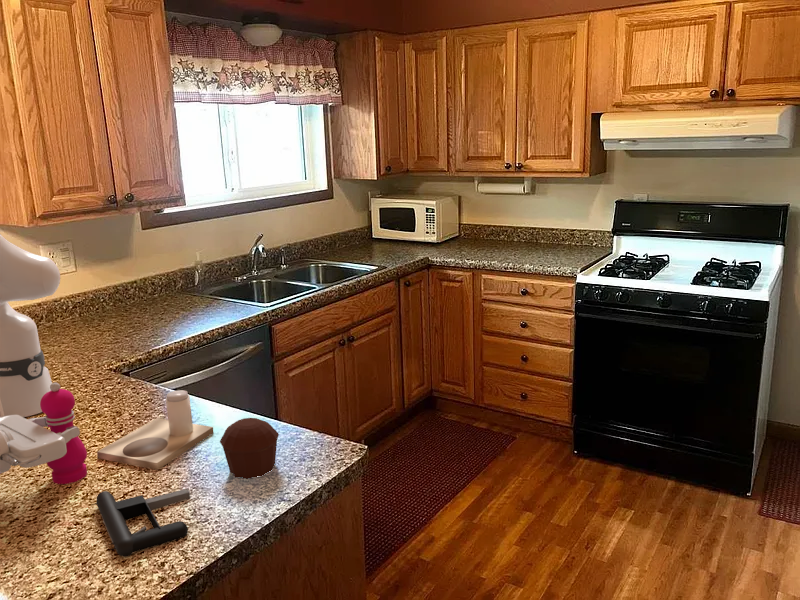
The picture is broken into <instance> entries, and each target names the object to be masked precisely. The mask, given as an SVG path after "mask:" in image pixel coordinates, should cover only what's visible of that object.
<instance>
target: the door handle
mask: <svg viewBox="0 0 800 600" xmlns="http://www.w3.org/2000/svg"><path fill="white" fill-rule="evenodd" d="M188 499H191V493H190V490H189V489H188V488H184V489H180V490H176V491H172V492H168V493H164V494H161V495H156V496H152V497H148V498H145V497H144V496H143V495H142V494H141V495H138V496H137V495H136V496H133V497H130V498H125V499H123V500H117V501H116V499H115V497H114V495H113V494H111V492H110V491H107V490H104V491H101V492H99V493H98V494H97V495H96V502H95V503H91V506H94V505H96V507H97V509H98V510H99V511H98V512H99V514H100V515H101V518H102V523H103V524H104V527H105V529H106V531H107V533H108V536H109V538H110V540H111V543H109V544H108V546H109V545H113V547H114V548H110V549H109V550H108V552H109V551H114V550H115V551H116V553H117V554H118V555H119V556H120V557H123V558H126V557H130V556H131V555H133V554H134V553H137V552H139V551H144V550H146V549H150V548H153V547H154V548H155V547H156V546H160V545H164V544H167V543H170V542H174V541H177V540H180V539H183V538H185V537H186V536H187V535H188V533H189V528H188V525H187V523H185V522H184V521H181V520H180V521H175V522H170V523H168V524H165V525H161V526H160V524H159V522H158V520H157V518H156V517H155V515H154V514H153V512H152V511H155V510H157V509H161V508H163V507H164V508H165V507H167V506H170V505H173V504H177V503H180V502H183V501H186V500H188ZM144 515H146V516H147V519H148V521H149V522H150V524H151V526H152V528H150V529H148V530H147V526H146V525H145V526H143V527H142V528H140V529H139V530H138V531H136V532H133V533H131V530H130V528H129V526H128V524H127V522H126V521H128V520H129V521H130V520H131V519H135V518H138V517H140V516H141V517H142V516H144Z"/></svg>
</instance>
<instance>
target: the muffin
mask: <svg viewBox="0 0 800 600" xmlns="http://www.w3.org/2000/svg"><path fill="white" fill-rule="evenodd" d="M279 436H280V435H279V432H278V431H277V430H276V429H275V428H274V427H273V426H272V425H271V424H270V423H269V422H267V421H265V420H263V419H259V418H257V417H244V418H240V419H238V420H236V421H234V422H233V423H231V424H230V425H229V426H227V428H226V429H225V431H224V433H223V435H222V436H221V438H220V440H219V443H220V445H221V446H222V449H223V452H224V456H225V459H226V463H227V467H228V470H229V472H230V473H231V474H232V473H233V474H232V475H233V477H234V478H238V477H243V478H242V479H244V478H246V479H245V480H249V479H248V478H250V479H253V478H252V477H256V478H258V477H257V476H262V475H264V474H265V473H267V472H269V471H271V470H272V469H274V467H275V465H276V460H277V459H276V458H277V456H276V455H277V444H278V443H277V442H278V438H279ZM274 464H275V465H274ZM273 466H274V467H273ZM272 471H273V470H272ZM272 471H271V472H272ZM269 473H270V472H269ZM267 474H268V473H267ZM265 475H266V474H265ZM265 475H264V476H265ZM262 477H263V476H262Z"/></svg>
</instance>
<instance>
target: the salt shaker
mask: <svg viewBox="0 0 800 600" xmlns="http://www.w3.org/2000/svg"><path fill="white" fill-rule="evenodd" d="M165 406H166V415H167V420H168V422H169V430H170V435H171V436H175V437H180V436H185V435H188V434H190V433H192V432H193V424H194V423H193V416H192V407H191V399H190V395H189V394H188V391H187V390H183V389H181V390H178V389H177V390H174V391H173V390H172V391H170V392H168V393H167V394H166V398H165Z"/></svg>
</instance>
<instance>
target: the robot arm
mask: <svg viewBox="0 0 800 600" xmlns="http://www.w3.org/2000/svg"><path fill="white" fill-rule="evenodd" d="M60 283H61V272H60V269H59V267H58V265H57V264H56V263H55V261H53V260H52V258H50V257H47V256H43V255H41V254H40V255H39V254H36V253H33V252H31V251H28V250H26V249H24V248H21V247H19V246H18V245H16V244H14V243H12V242H10V241H9V240H7V239H6V238H5V237H4V236H3V235H2V234H1V233H0V474H1V475H2V474H3V473H6V472H8V471H10V469H11V466H13V467H16V466H19V467H21V468H26V469H29V468H34V467H37V466H40V465H44V464H47V462H50V461H53V460H56V459H59V458H61V457H63V456H64V455H65V454H66V453H67V449H66V443H67V442H68V441H70V440H71V439H72V438H74V437H77V436H78V437H80V435H81V431H80V428H79V427H78V426H76V425H73V426H71V427H68V428H66V431H64V432H62V433H60V432H59V433H54V432H52V431H50V429H47V428H50V426H49V425H48V424H47V423H46V421H47V420H46V418H45V417H46V416H47V415H46V416H41V417H31V418H28V419H27V418H25V417H30V416H33V415H37V414H41V413H43V412H42V410H41V407H40V402H41V399H42V397H43V396H44V395H45V394H46V393H47V392H49V391H51V389H50V385H51V384H52V383H53V382H52V378H51V375H50V372H49V369H48V367H46V366H45V364H46V361H45V354H44V352H43V350H42V349H41V344H40V338H39V334H38V332H39V331H38V328H37V324H36V322H35V321H34V320H33V318H31V317H30V316H28V315H26V314H23V313H20V312H19V311H18V312H17V311H16V309H14V308H13V307H12V306H11V305H10V304H9V302H19V301H20V302H21V301H34V300H39V299H43V298H47V297H49V296H52V295H55V293H56V291H57V290H58V288H59V286H60Z"/></svg>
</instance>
